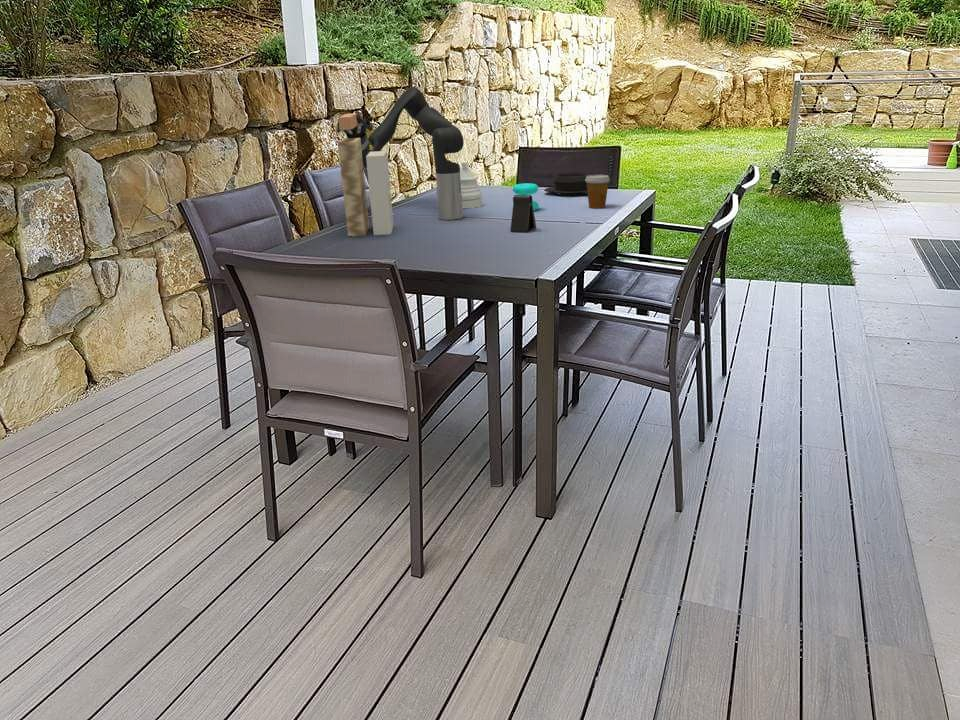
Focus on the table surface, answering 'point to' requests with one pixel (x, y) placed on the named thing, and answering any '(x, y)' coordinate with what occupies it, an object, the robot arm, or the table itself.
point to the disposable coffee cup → (597, 190)
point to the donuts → (527, 191)
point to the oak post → (353, 186)
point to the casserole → (569, 184)
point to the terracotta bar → (347, 121)
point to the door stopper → (522, 214)
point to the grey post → (380, 192)
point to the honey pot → (469, 188)
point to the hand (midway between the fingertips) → (350, 115)
